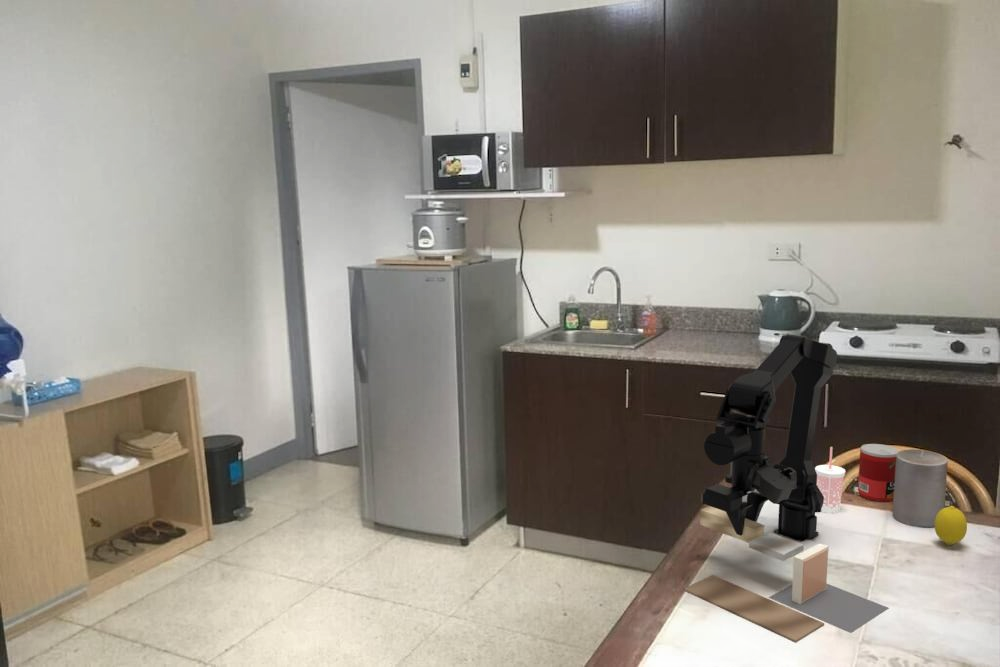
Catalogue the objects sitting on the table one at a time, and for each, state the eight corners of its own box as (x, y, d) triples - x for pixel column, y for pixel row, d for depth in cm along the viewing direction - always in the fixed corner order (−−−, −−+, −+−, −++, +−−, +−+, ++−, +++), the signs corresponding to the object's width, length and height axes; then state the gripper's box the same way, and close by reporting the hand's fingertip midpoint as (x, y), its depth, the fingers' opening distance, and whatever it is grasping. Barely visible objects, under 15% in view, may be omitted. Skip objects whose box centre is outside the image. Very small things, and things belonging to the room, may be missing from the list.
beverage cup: (843, 505, 185) (847, 444, 182) (842, 516, 179) (846, 453, 177) (814, 501, 187) (817, 441, 184) (811, 512, 182) (815, 449, 179)
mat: (768, 599, 145) (768, 597, 145) (807, 578, 152) (807, 575, 152) (850, 635, 133) (851, 632, 133) (889, 610, 140) (889, 607, 140)
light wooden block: (695, 526, 160) (695, 511, 159) (715, 518, 163) (715, 503, 163) (783, 561, 145) (784, 544, 144) (803, 551, 149) (803, 535, 148)
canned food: (893, 504, 185) (897, 456, 183) (854, 498, 189) (857, 451, 187) (898, 493, 191) (901, 446, 189) (860, 487, 195) (863, 441, 193)
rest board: (683, 592, 148) (683, 588, 148) (712, 578, 153) (712, 574, 152) (795, 645, 131) (795, 640, 131) (824, 627, 136) (824, 623, 135)
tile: (791, 600, 143) (793, 556, 142) (817, 585, 148) (820, 543, 147) (801, 604, 142) (803, 560, 141) (827, 589, 147) (829, 546, 145)
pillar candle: (908, 506, 184) (912, 440, 181) (953, 520, 176) (958, 451, 173) (882, 517, 178) (886, 449, 175) (927, 532, 170) (932, 461, 168)
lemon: (969, 552, 161) (972, 512, 160) (937, 550, 162) (941, 510, 161) (959, 539, 166) (963, 501, 165) (929, 538, 168) (932, 500, 166)
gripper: (754, 474, 140) (751, 562, 142) (817, 450, 151) (813, 532, 154) (700, 457, 148) (698, 541, 151) (763, 436, 159) (761, 514, 162)
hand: (744, 532), depth 154 cm, fingers closed on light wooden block, 3 cm apart
